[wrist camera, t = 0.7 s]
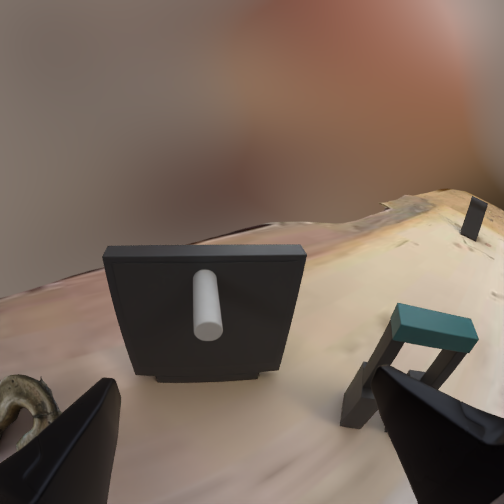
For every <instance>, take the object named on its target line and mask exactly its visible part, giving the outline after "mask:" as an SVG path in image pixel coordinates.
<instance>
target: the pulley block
mask: <svg viewBox="0 0 504 504" xmlns="http://www.w3.org/2000/svg"><path fill="white" fill-rule="evenodd" d="M22 408H27V409H28V410H29V411H30V412H31V413H32V416H33V427H32V430H31V431H29V432H28V433H26V434H25V435H23V437H22V438H21V439H20V440H19V441H18V442H17V445H16V448H17V451H19V450H20V449H21V448H22V447H24V446H25V445H26V444H27V443H28V442H30V441H31V440H32V439H33V438H34V437H35V436H38V434H39V433H40V432H41V431H42V430H43V429H45V428H46V427H47V426H48V425H49V424H50V423H51V422H53V421H54V420H55V419H56V418H57V417H58V416H59V415H61V414H62V412H61V411H60V410H59V408H58V406H57V404H56V402H55V400H54V398H53V396H52V391H51V389H49V388H48V386H47V384H46V383H45V382H44V381H43V380H42V378H41V380H40V381H38V380H36V379H34V378H31V377H29V376H26V375H19V374H18V375H10V376H8V377H5V378H4V379H3V380H2V381H0V439H1V437H2V433H3V431H4V430H5V429H6V428H7V427H8V426H9V425H10V424H11V423H13V422H14V421H15V420H16V419H17V417H18V414H19V412H20V410H21V409H22Z"/></svg>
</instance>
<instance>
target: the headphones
mask: <svg viewBox="0 0 504 504" xmlns="http://www.w3.org/2000/svg"><path fill="white" fill-rule="evenodd" d="M478 340H479V339H478V336H477V333H476V331H475V328H474V325H473V323H472V320H471V319H469V318H464V317H460V316H455V315H451V314H446V313H442V312H437V311H432V310H428V309H424V308H419V307H415V306H410V305H406V304H401V303H397V305H396V307H395V310H394V312H393V314H392V316H391V320H390V322H389V324H388V326H387V328H386V330H385V332H384V334H383V336H382V337H381V339H380V341H379V343H378V345H377V347H376V348H375V350H374V352H373V354H372V356H371V357H370V359H369V361H368V362H363V364H362V365H361V367H360V369H359V370H358V372H357V374H356V376H355V377H354V379H353V381H352V382H351V384H350V385H349V387H348V389H347V390H346V392H345V393H344V400H343V407H342V414H341V420H340V426H344V427H350V428H357V429H361V428H362V427H363V426H364V425H365V424H366V422H367V421H368V420H369V419H370V418H371V417H372V416H373V415H374V413H375V412H376V411H377V410H378V407H377V404H376V401H375V398H374V395H373V393H372V390H371V381H372V378H373V376H374V373H375V371H376V369H377V367H378V366H382V365H391V363H392V362H393V360H394V359H395V357H396V356H397V354H398V352H399V351H400V349H401V348H402V346H403V344H404V343H405V342H406V343H411V344H416V345H422V346H427V347H433V348H439V349H442V351H441V352H440V353H439V355H438V356H437V358H436V359H435V360H434V362H433V363H432V365H431V366H430V367H429V369H428V370H427V371H426V372H420V371H414V370H409V371H408V373H407V375H409V376H411V377H413V378H415V379H417V380H419V381H421V382H423V383H425V384H427V385H429V386H431V387H433V388H435V389H437V390H438V389H439V388H440V387H441V385H442V384H443V383H444V382H445V381H446V380H447V378H448V377H449V376H450V375H451V373H452V372H453V371H454V370H455V368H456V367H457V366H458V365H459V363H460V362H461V361H462V359H463V358H464V357H465V355H466V354H467V353H470V351H471V350H472V348H473V347H474V346H475V344H476V343H477V341H478ZM385 432H387V430H386V428H385Z"/></svg>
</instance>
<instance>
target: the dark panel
mask: <svg viewBox="0 0 504 504" xmlns="http://www.w3.org/2000/svg"><path fill="white" fill-rule="evenodd" d="M306 257H307V254H306V252H305V251H304V249H303V248H302V246H301V245H146V246H145V245H144V246H143V245H141V246H140V245H139V246H108V247H107V248H106V250H105V252H104V254H103V257H102V258H103V262H104V267H105V272H106V276H107V281H108V285H109V289H110V293H111V297H112V301H113V305H114V309H115V312H116V316H117V319H118V323H119V326H120V330H121V333H122V336H123V339H124V343H125V346H126V349H127V352H128V355H129V358H130V360H131V363H132V366H133V369H134V372H135V374H136V375H147V376H156V379H157V382H163V383H189V382H220V381H236V380H249V379H258V374H259V372H266V371H275V370H279V367H280V364H281V360H282V356H283V353H284V349H285V345H286V341H287V337H288V333H289V330H290V326H291V322H292V318H293V313H294V309H295V305H296V301H297V297H298V293H299V288H300V284H301V280H302V275H303V271H304V266H305V262H306Z"/></svg>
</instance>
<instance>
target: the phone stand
mask: <svg viewBox="0 0 504 504" xmlns="http://www.w3.org/2000/svg"><path fill="white" fill-rule="evenodd" d="M487 205H488V203H486V202H484V201H482V200H479V199H477V198H475V197H473V196H472V198H471V202H470V205H469V208H468V211H467V214H466V217H465V220H464V223H463V226H462V229H461V233H460V234H462V235H464V236H466V237H468V238H470V239H472V240H474V241H476V239H477V236H478V233H479V230H480V227H481V224H482V221H483V218H484V215H485V211H486V208H487Z"/></svg>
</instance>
